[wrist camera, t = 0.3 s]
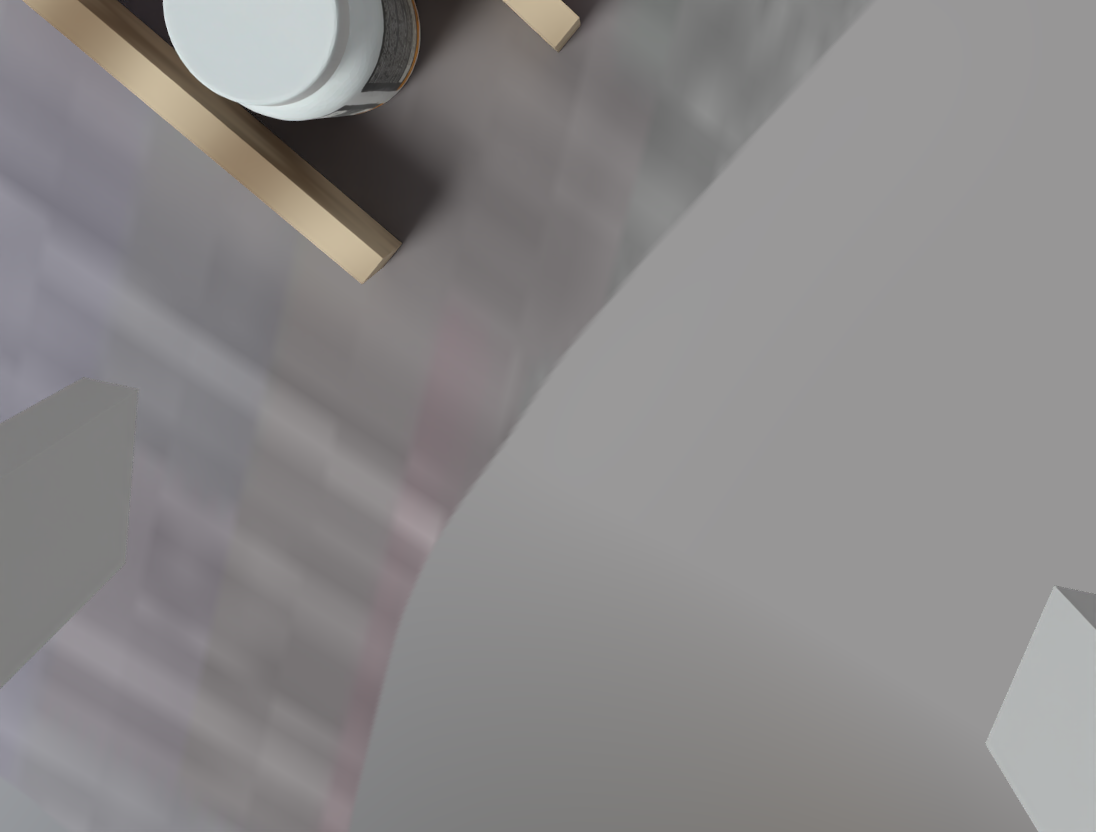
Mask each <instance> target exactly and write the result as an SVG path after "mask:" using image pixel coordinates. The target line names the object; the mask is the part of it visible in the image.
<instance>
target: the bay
mask: <svg viewBox="0 0 1096 832" xmlns="http://www.w3.org/2000/svg"><path fill="white" fill-rule="evenodd" d="M22 1H24V2H25V3H26V4H27V5H28V6H30V7H31V8H32V9H33V10H34V11H36V12H37V13H38V14H39V15H40V16H42V17H43V18H44V19H45V20H46V21H48V22H49V23H50V24H51V25H52V26H54V27H55V28H56V29H57V30H58V31H60V32H61V33H62V34H63V35H64V36H66V37H67V38H68V39H69V40H70V41H72V42H73V43H74V44H75V45H76V46H78V47H79V48H80V49H81V50H82V51H83V52H85V53H86V54H87V55H88V56H89V57H91V58H92V59H93V60H94V61H95V62H97V63H98V64H99V65H100V66H101V67H103V68H104V69H105V70H106V71H107V72H109V73H110V74H111V75H112V76H113V77H115V78H116V79H117V80H118V81H119V82H121V83H122V84H123V85H124V86H125V87H127V88H128V89H129V90H130V91H131V92H133V93H134V94H135V95H136V96H137V97H139V98H140V99H141V100H142V101H143V102H145V103H146V104H147V105H148V106H149V107H150V108H152V109H153V110H154V111H155V112H156V113H158V114H159V115H160V116H161V117H162V118H164V119H165V120H166V121H167V122H168V123H170V124H171V125H172V126H173V127H174V128H176V129H177V130H178V131H179V132H180V133H182V134H183V135H184V136H185V137H186V138H188V139H189V140H190V141H191V142H192V143H194V144H195V145H196V146H197V147H198V148H200V149H201V150H202V151H203V152H204V153H206V154H207V155H208V156H209V157H210V158H212V159H213V160H214V161H215V162H216V163H218V164H219V165H220V166H221V167H222V168H223V169H225V170H226V171H227V172H228V173H229V174H231V175H232V176H233V177H234V178H235V179H237V180H238V181H239V182H240V183H241V184H243V185H244V186H245V187H246V188H247V189H249V190H250V191H251V192H252V193H253V194H255V195H256V196H257V197H258V198H259V199H261V200H262V201H263V202H264V203H265V204H267V205H268V206H269V207H270V208H271V209H273V210H274V211H275V212H276V213H277V214H279V215H280V216H281V217H282V218H283V219H285V220H286V221H287V222H288V223H289V224H290V225H292V226H293V227H294V228H295V229H296V230H298V231H299V232H300V233H301V234H302V235H304V236H305V237H306V238H307V239H308V240H310V241H311V242H312V243H313V244H314V245H316V246H317V247H318V248H319V249H320V250H322V251H323V252H324V253H325V254H326V255H328V256H329V257H330V258H331V259H332V260H334V261H335V262H336V263H337V264H338V265H340V266H341V267H342V268H343V269H344V270H346V271H347V272H348V273H349V274H350V275H352V276H353V277H354V278H355V279H356V280H358V281H359V282H360V283H361V284H363V283H364V282H366V281H367V280H368V279H369V278H371V277H372V276H373V275H374V274H375V273H377V272H378V271H379V270H380V269H382V268H383V267H384V266H385V264H386V263H387V262H388V261H389V259H390V258H391V257H392V256H393V255H394V253H395V252H396V251H397V250H398V248H399V247H400V246H401V245H402V243H401V242H400V241H399V240H397V239H396V238H395V237H394V236H393V235H392V234H390V233H389V232H388V231H387V230H386V229H385V228H383V227H382V226H381V225H380V224H379V223H378V222H376V221H375V220H374V219H373V218H372V217H370V216H369V215H368V214H367V213H366V212H365V211H363V210H362V209H361V208H360V207H359V206H358V205H356V204H355V203H354V202H353V201H352V200H351V199H349V198H348V197H347V196H346V195H345V194H344V193H342V192H341V191H340V190H339V189H338V188H337V187H335V186H334V185H333V184H332V183H331V182H329V181H328V180H327V179H326V178H325V177H324V176H322V175H321V174H320V173H319V172H318V171H317V170H315V169H314V168H313V167H312V166H311V165H310V164H308V163H307V162H306V161H305V160H304V159H303V158H301V157H300V156H299V155H298V154H297V153H295V152H294V151H293V150H292V149H291V148H290V147H288V146H287V145H286V144H285V143H284V142H283V141H281V140H280V139H279V138H278V137H277V136H276V135H274V134H273V133H272V132H271V131H270V130H269V129H267V128H266V127H265V126H264V125H263V124H262V123H260V122H259V121H258V120H257V119H256V118H254V117H253V116H252V115H251V114H250V113H249V112H247V111H246V110H245V109H244V108H243V107H242V106H240V105H239V104H238V103H237V102H235V101H232V100H229V99H227V98H225V97H223V96H220V95H218V94H216V93H215V92H213V91H212V90H210V89H209V88H207V87H206V86H205V85H203V84H202V83H201V82H200V81H199V80H198V79H197V78H196V77H195V76H194V75H193V74H192V73H191V72H190V71H189V70H188V68H187V67H186V66H185V64H184V63H183V62H182V60H181V59H180V57H179V55H178V54H177V52H176V50H175V49H174V48H172V47H171V46H170V45H169V44H168V43H167V42H165V41H164V40H163V39H162V38H161V37H160V36H158V35H157V34H156V33H155V32H154V31H153V30H151V29H150V28H149V27H148V26H147V25H146V24H144V23H143V22H142V21H141V20H140V19H138V18H137V17H136V16H135V15H134V14H133V13H131V12H130V11H129V10H128V9H127V8H126V7H124V6H123V5H122V4H121V3H120V2H119V1H117V0H22ZM502 1H503V2H505V3H506V4H507V5H508V6H509V7H510V8H511V9H512V10H513V11H514V12H515V13H516V14H517V15H518V16H520V17H521V18H522V19H523V20H524V21H525V22H526V23H527V24H528V25H529V26H530V27H531V28H532V29H533V30H535V31H536V32H537V33H538V34H539V35H540V36H541V37H542V38H543V39H544V40H545V41H546V42H547V43H548V44H550V45H551V46H552V47H553V48H554V49H555V50H556V51H557V52H559V51H560V50H561V49H562V48H563V46H564V45H565V44H566V43H567V41H568V40H569V39H570V38H571V37H572V35H573V34H574V33H575V32H576V30H577V29H578V28H579V27H580V26H581V24H580V18H579V17H578V16H577V15H576V14H575V13H574V12H573V11H572V10H571V9H570V8H569V7H568V6H567V5H566V4H565V3H564V2H562V1H561V0H502Z"/></svg>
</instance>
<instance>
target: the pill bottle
mask: <svg viewBox="0 0 1096 832" xmlns="http://www.w3.org/2000/svg"><path fill="white" fill-rule="evenodd" d="M163 10H164V18H165V23H166V27H167V30H168V33H169V36H170V39H171V42H172V44H173V46H174V48H175V50H176V52H177V54H178V55H179V57H180V59H181V60H182V62H183V63H184V64H185V66H186V67H187V68H188V70H189V71H190V72H191V73H192V74H193V75H194V76H195V77H196V78H197V79H198V80H199V81H200V82H201V83H202V84H203V85H205V86H206V87H207V88H209V89H210V90H212V91H213V92H215V93H216V94H218V95H220V96H223V97H225V98H227V99H229V100H232V101H235V102H238V103H240V104H241V105H243V106H245V107H247V108H248V109H250V110H252V111H254V112H256V113H260V114H262V115H265V116H268V117H272V118H276V119H281V120H287V121H304V120H312V119H318V118H328V117H340V116H347V115H355V114H360V113H364V112H367V111H370V110H372V109H374V108H377V107H379V106H381V105H383V104H384V103H386V102H387V101H389V100H390V99H391V98H392V97H393V96H394V95H396V94H397V93H398V92H399V91H400V89H401V88H402V87H403V86H404V85H405V83H406V82H407V80H408V79H409V77H410V75H411V73H412V71H413V69H414V66H415V63H416V61H417V58H418V54H419V48H420V21H419V15H418V11H417V7H416V4H415V1H414V0H163Z"/></svg>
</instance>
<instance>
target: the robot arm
mask: <svg viewBox="0 0 1096 832" xmlns="http://www.w3.org/2000/svg"><path fill="white" fill-rule="evenodd" d="M137 402H138V389H136V388H131V387H127V386H122V385H117V384H113V383H108V382H103V381H99V380H94V379H89V378H85V377H83V378H82V379H80V380H78V381H76V382H74V383H73V384H71V385H69V386H67V387H65V388H63V389H62V390H60V391H58V392H56V393H54V394H53V395H51V396H49V397H47V398H45V399H44V400H42V401H40V402H38V403H36V404H35V405H33V406H31V407H29V408H27V409H26V410H24V411H22V412H20V413H18V414H17V415H15V416H13V417H11V418H9V419H8V420H6V421H4V422H2V423H0V689H1V688H2V687H3V686H4V685H5V684H6V683H7V682H8V681H9V680H10V679H11V678H12V677H13V676H14V675H15V674H16V673H17V672H18V671H19V670H20V669H21V668H22V667H23V666H24V665H25V664H26V663H27V662H28V661H29V660H30V659H31V658H32V657H33V656H34V655H35V654H36V653H37V652H38V651H39V650H40V649H41V648H42V647H43V646H44V645H45V644H46V643H47V642H48V641H49V640H50V639H51V638H52V637H53V636H54V635H55V634H56V633H57V632H58V631H59V630H60V629H61V628H62V627H63V626H64V625H65V624H66V623H67V622H68V621H69V620H70V619H71V618H72V617H73V616H74V615H75V614H76V613H77V612H78V611H79V609H80V608H81V607H82V606H83V605H84V604H85V603H86V602H87V601H88V600H89V599H90V598H91V597H92V596H93V595H94V594H95V593H96V592H97V591H98V590H99V589H100V588H101V587H102V586H103V585H104V584H105V583H106V582H107V581H108V580H109V579H110V578H111V577H112V576H113V575H114V574H115V573H116V572H117V571H118V570H119V569H120V568H121V567H122V566H123V565H124V564H125V563H126V549H127V536H128V523H129V509H130V496H131V483H132V469H133V456H134V443H135V429H136V416H137ZM985 744H986V746H987V748H988V749H989V751H990V753H991V754H992V756H993V758H994V759H995V761H996V762H997V764H998V766H999V767H1000V769H1001V771H1002V772H1003V774H1004V775H1005V777H1006V779H1007V781H1008V782H1009V784H1010V786H1011V787H1012V789H1013V791H1014V792H1015V794H1016V796H1017V797H1018V799H1019V801H1020V802H1021V804H1022V806H1023V807H1024V809H1025V811H1026V812H1027V814H1028V816H1029V817H1030V819H1031V820H1032V822H1033V824H1034V825H1035V827H1036V829H1037V830H1038V832H1096V594H1092V593H1087V592H1083V591H1078V590H1073V589H1069V588H1064V587H1059V586H1054V587H1053V589H1052V592H1051V594H1050V596H1049V599H1048V601H1047V603H1046V606H1045V608H1044V610H1043V612H1042V615H1041V617H1040V619H1039V622H1038V624H1037V626H1036V628H1035V631H1034V633H1033V636H1032V638H1031V640H1030V642H1029V645H1028V647H1027V649H1026V652H1025V654H1024V656H1023V658H1022V661H1021V663H1020V665H1019V668H1018V670H1017V672H1016V675H1015V677H1014V679H1013V681H1012V684H1011V686H1010V688H1009V690H1008V693H1007V695H1006V697H1005V700H1004V702H1003V704H1002V707H1001V709H1000V711H999V714H998V716H997V718H996V720H995V723H994V725H993V727H992V729H991V732H990V734H989V736H988V739H987V741H986V743H985Z"/></svg>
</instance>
